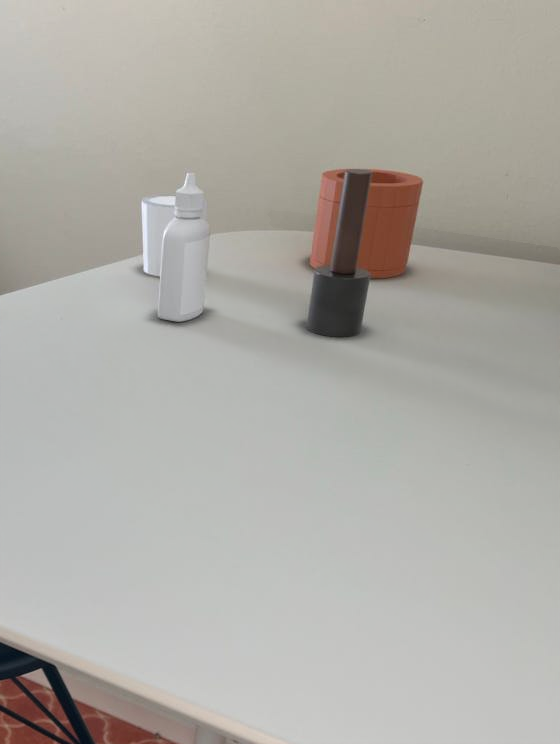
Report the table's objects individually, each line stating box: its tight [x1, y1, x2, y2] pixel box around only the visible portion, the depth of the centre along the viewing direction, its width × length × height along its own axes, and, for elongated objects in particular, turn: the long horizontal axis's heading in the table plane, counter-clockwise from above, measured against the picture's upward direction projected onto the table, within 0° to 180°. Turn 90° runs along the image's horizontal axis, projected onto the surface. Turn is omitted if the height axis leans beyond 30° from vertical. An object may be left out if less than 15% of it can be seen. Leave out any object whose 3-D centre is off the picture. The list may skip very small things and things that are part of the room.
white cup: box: [141, 194, 208, 278], centre depth 103 cm, size 7×7×7 cm
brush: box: [306, 168, 372, 338], centre depth 86 cm, size 5×5×13 cm
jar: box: [309, 168, 424, 280], centre depth 106 cm, size 10×10×9 cm
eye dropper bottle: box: [157, 172, 211, 323], centre depth 89 cm, size 4×6×12 cm
